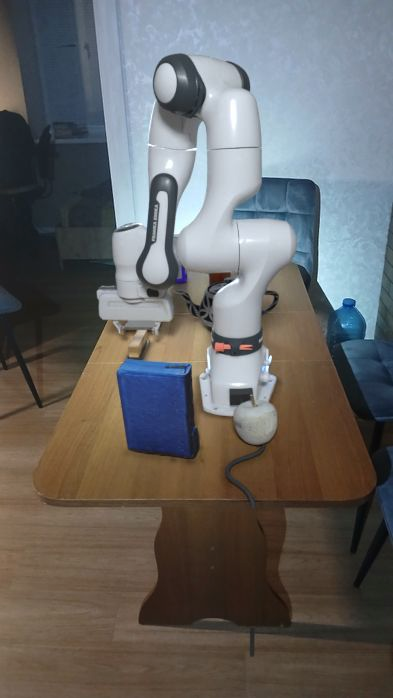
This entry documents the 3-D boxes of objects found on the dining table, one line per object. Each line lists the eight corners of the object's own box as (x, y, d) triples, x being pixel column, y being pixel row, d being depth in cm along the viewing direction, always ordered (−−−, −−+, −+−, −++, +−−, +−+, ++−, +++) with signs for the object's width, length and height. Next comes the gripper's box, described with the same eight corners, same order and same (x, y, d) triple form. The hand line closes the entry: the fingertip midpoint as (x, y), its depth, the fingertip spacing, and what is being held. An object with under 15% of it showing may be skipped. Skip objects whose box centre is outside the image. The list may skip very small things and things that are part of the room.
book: (201, 447, 101) (197, 359, 91) (195, 464, 96) (190, 373, 87) (134, 438, 104) (123, 353, 95) (125, 455, 99) (112, 367, 90)
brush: (141, 361, 134) (140, 347, 132) (127, 361, 134) (125, 347, 133) (150, 343, 144) (149, 329, 142) (136, 342, 144) (135, 329, 142)
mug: (212, 301, 170) (211, 272, 165) (204, 293, 177) (203, 265, 172) (245, 296, 173) (245, 267, 168) (235, 288, 180) (235, 260, 176)
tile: (156, 330, 151) (156, 327, 151) (124, 329, 152) (123, 326, 152) (168, 305, 169) (168, 302, 168) (139, 304, 170) (139, 301, 170)
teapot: (177, 315, 160) (174, 270, 153) (273, 311, 160) (274, 265, 153) (175, 342, 143) (172, 292, 136) (283, 337, 143) (285, 287, 136)
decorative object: (266, 458, 97) (267, 415, 92) (226, 445, 101) (225, 403, 96) (283, 433, 103) (285, 392, 99) (245, 422, 107) (245, 382, 103)
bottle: (171, 278, 193) (168, 233, 185) (186, 277, 193) (184, 232, 185) (173, 284, 186) (169, 238, 178) (188, 283, 187) (185, 237, 179)
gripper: (91, 290, 130) (98, 337, 136) (168, 291, 127) (172, 340, 133) (99, 281, 135) (106, 327, 142) (173, 282, 132) (177, 330, 139)
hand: (138, 334), depth 137 cm, fingers open, 8 cm apart
